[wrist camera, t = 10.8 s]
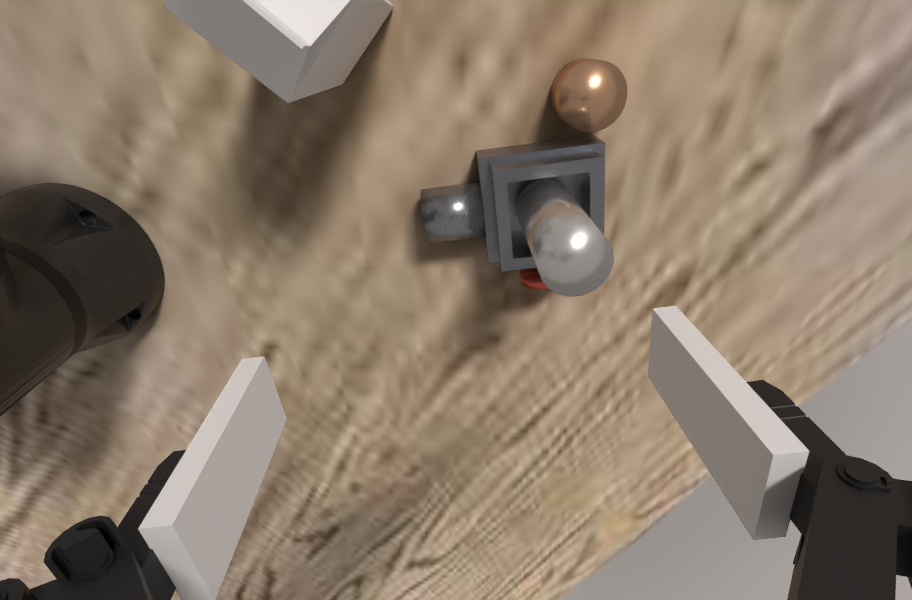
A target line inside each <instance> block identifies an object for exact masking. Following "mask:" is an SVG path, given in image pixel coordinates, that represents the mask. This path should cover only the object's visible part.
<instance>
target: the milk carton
mask: <svg viewBox="0 0 912 600" xmlns="http://www.w3.org/2000/svg"><path fill="white" fill-rule="evenodd" d="M164 6H165V7H166V8H167V9H168V10H169V11H170V12H171V13H173V14H174V15H175V16H176V17H178V18H179V19H180V20H181V21H183V22H184V23H185V24H187V25H188V26H189V27H190V28H192V29H193V30H194V31H196V32H197V33H198V34H199V35H201V36H202V37H203V38H205V39H206V40H207V41H208V42H210V43H211V44H212V45H213V46H215V47H216V48H217V49H219V50H220V51H221V52H222V53H224V54H225V55H226V56H228V57H229V58H230V59H231V60H233V61H234V62H235V63H237V64H238V65H239V66H240V67H242V68H243V69H244V70H246V71H247V72H248V73H249V74H251V75H252V76H253V77H255V78H256V79H257V80H258V81H260V82H261V83H262V84H264V85H265V86H266V87H267V88H269V89H270V90H271V91H273V92H274V93H275V94H276V95H278V96H279V97H280V98H282V99H283V100H284V101H286V102H287V103H290V102H293V101H296V100H299V99H302V98H305V97H308V96H311V95H313V94H316V93H319V92H322V91H325V90H328V89H331V88H334V87H337V86H340V85H342V84H343V83H344V81H345V80H346V78H347V77H348V75H349V74H350V72H351V71H352V69H353V68H354V66H355V65H356V63H357V62H358V60H359V59H360V57H361V56H362V54H363V53H364V51H365V50H366V48H367V47H368V45H369V44H370V42H371V41H372V39H373V38H374V36H375V35H376V33H377V32H378V30H379V29H380V27H381V26H382V24H383V23H384V21H385V19H386V18H387V16H388V15H389V13H390V12H391V10H392V9H393V5H392V4H391V3H390V2H389V1H388V0H164Z"/></svg>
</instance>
